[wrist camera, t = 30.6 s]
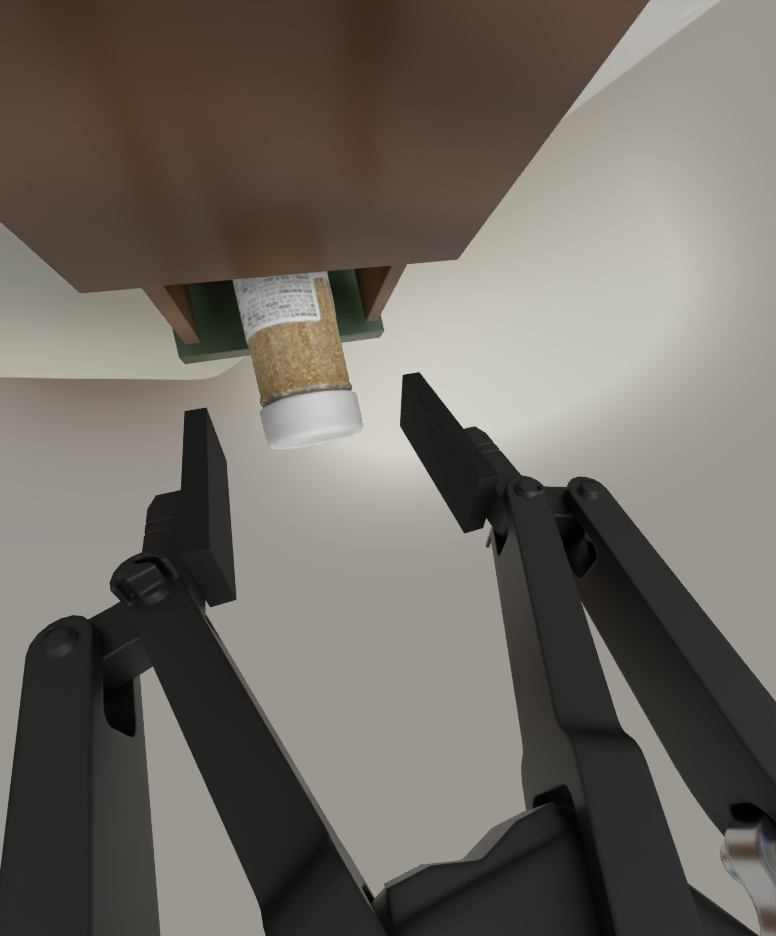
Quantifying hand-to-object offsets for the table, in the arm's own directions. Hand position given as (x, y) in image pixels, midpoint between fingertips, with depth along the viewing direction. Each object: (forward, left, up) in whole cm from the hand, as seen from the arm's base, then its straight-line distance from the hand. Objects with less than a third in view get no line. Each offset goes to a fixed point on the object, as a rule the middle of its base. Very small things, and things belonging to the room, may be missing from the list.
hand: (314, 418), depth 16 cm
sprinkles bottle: (0, -2, -13) cm, 13 cm away
